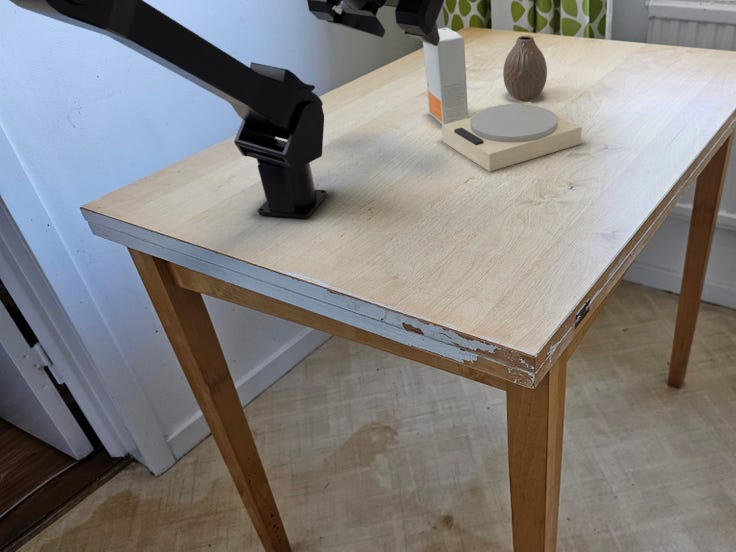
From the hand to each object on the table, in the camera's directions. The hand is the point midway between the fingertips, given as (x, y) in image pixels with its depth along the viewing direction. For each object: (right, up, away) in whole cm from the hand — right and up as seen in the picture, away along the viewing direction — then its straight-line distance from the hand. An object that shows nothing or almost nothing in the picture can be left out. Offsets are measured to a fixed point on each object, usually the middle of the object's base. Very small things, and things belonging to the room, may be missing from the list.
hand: (409, 38), depth 88 cm
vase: (+17, 0, +20) cm, 26 cm away
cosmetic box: (+5, -6, +13) cm, 15 cm away
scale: (+14, -12, +5) cm, 19 cm away
